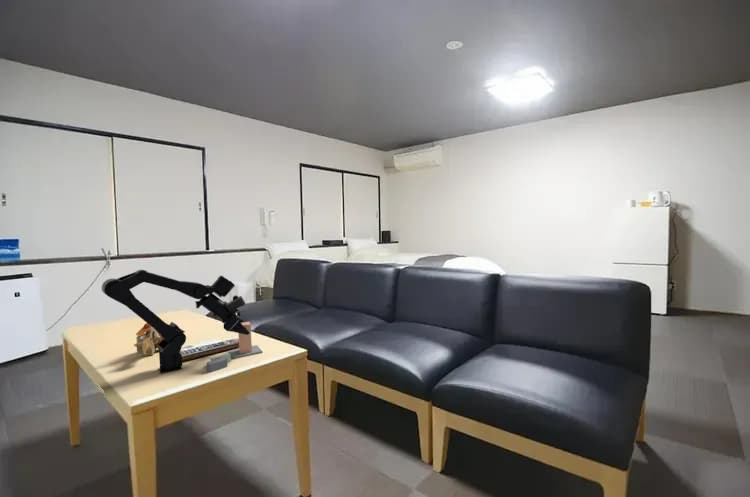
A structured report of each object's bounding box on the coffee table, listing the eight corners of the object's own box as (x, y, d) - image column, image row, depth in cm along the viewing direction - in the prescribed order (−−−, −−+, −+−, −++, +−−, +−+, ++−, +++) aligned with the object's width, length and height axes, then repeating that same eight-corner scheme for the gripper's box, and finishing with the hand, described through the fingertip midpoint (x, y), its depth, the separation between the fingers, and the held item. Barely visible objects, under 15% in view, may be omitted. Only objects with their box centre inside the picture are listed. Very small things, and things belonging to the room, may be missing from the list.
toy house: (167, 346, 150) (165, 315, 150) (154, 364, 131) (151, 327, 130) (145, 349, 148) (143, 317, 147) (128, 367, 128) (125, 330, 127)
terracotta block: (239, 353, 138) (238, 325, 137) (239, 350, 142) (237, 323, 141) (251, 351, 139) (250, 324, 139) (251, 348, 143) (249, 321, 143)
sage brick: (214, 366, 127) (213, 358, 127) (211, 364, 129) (210, 356, 129) (230, 361, 131) (230, 354, 131) (227, 360, 133) (227, 352, 133)
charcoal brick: (210, 372, 122) (210, 364, 121) (206, 370, 124) (206, 362, 123) (227, 367, 126) (227, 359, 126) (223, 365, 128) (223, 357, 128)
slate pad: (233, 358, 134) (233, 357, 134) (228, 352, 141) (228, 350, 141) (262, 352, 140) (262, 351, 140) (256, 346, 147) (256, 345, 147)
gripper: (231, 294, 129) (264, 320, 134) (231, 287, 146) (260, 310, 151) (209, 318, 127) (243, 343, 131) (211, 307, 144) (241, 330, 149)
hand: (248, 330), depth 141 cm, fingers open, 9 cm apart
